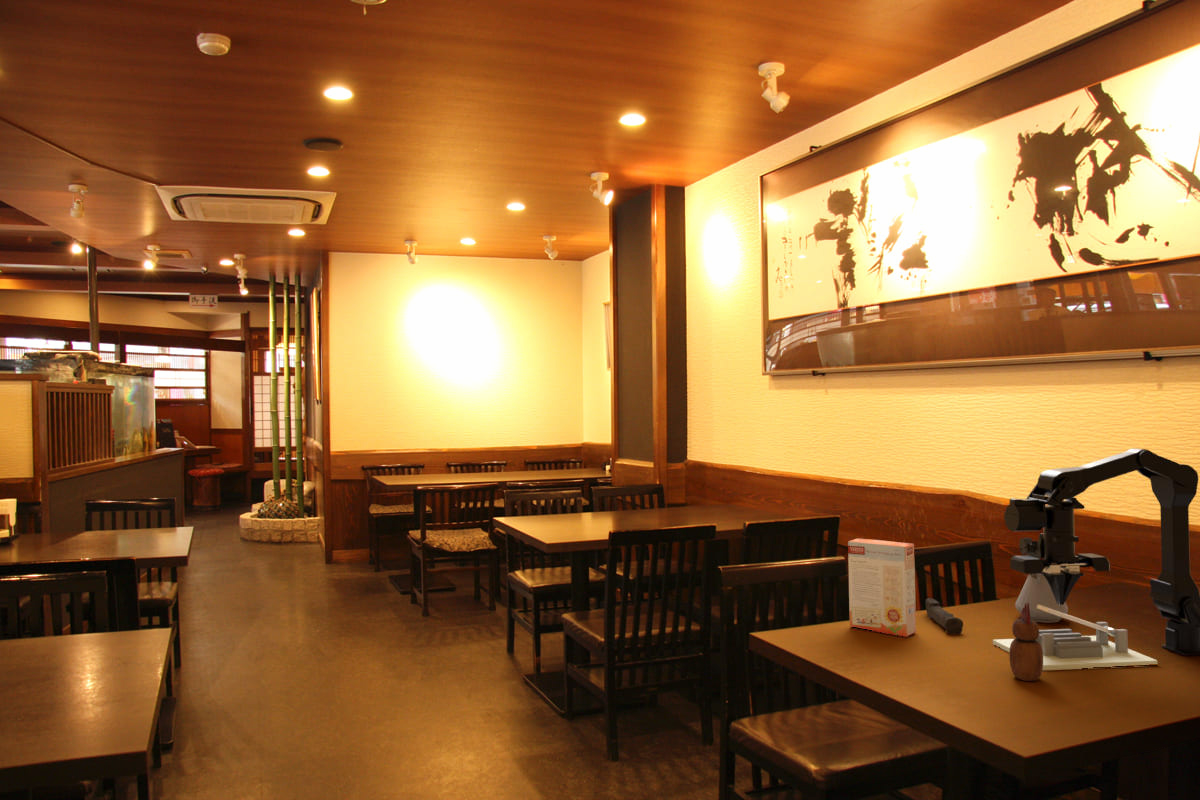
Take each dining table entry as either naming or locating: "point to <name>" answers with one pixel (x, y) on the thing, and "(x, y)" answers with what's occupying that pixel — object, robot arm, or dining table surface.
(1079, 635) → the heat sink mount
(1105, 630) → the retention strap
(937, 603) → the hand tool
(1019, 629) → the wooden figurine
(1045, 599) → the coffee pot
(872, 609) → the cracker box
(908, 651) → the dining table surface
